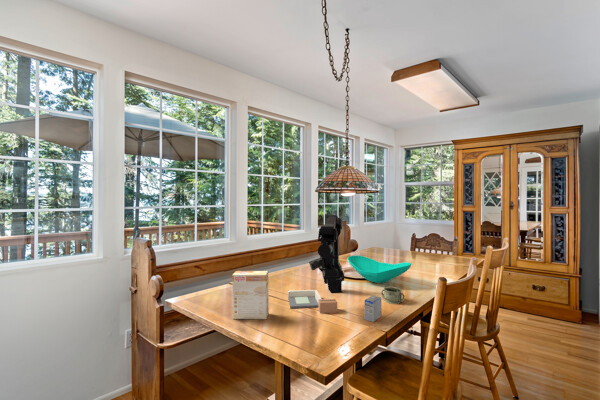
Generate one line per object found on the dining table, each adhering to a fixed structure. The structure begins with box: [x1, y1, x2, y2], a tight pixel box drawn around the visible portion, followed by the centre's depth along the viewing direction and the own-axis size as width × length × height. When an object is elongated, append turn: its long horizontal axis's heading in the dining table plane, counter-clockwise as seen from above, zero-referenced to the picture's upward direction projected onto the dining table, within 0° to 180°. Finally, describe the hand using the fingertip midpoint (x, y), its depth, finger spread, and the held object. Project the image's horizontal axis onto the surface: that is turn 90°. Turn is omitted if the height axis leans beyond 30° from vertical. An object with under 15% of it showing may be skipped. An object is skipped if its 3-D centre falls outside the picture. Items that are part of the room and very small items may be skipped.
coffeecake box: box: [231, 270, 270, 320], centre depth 137 cm, size 15×7×20 cm, turn 88°
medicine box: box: [363, 295, 382, 323], centre depth 135 cm, size 8×4×9 cm, turn 141°
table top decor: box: [347, 255, 412, 284], centre depth 190 cm, size 40×28×13 cm
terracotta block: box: [317, 298, 338, 314], centre depth 143 cm, size 8×4×5 cm, turn 95°
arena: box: [287, 289, 322, 310], centre depth 153 cm, size 15×14×4 cm
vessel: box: [381, 286, 405, 305], centre depth 155 cm, size 12×9×6 cm
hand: (327, 286), depth 142 cm, fingers open, 9 cm apart
